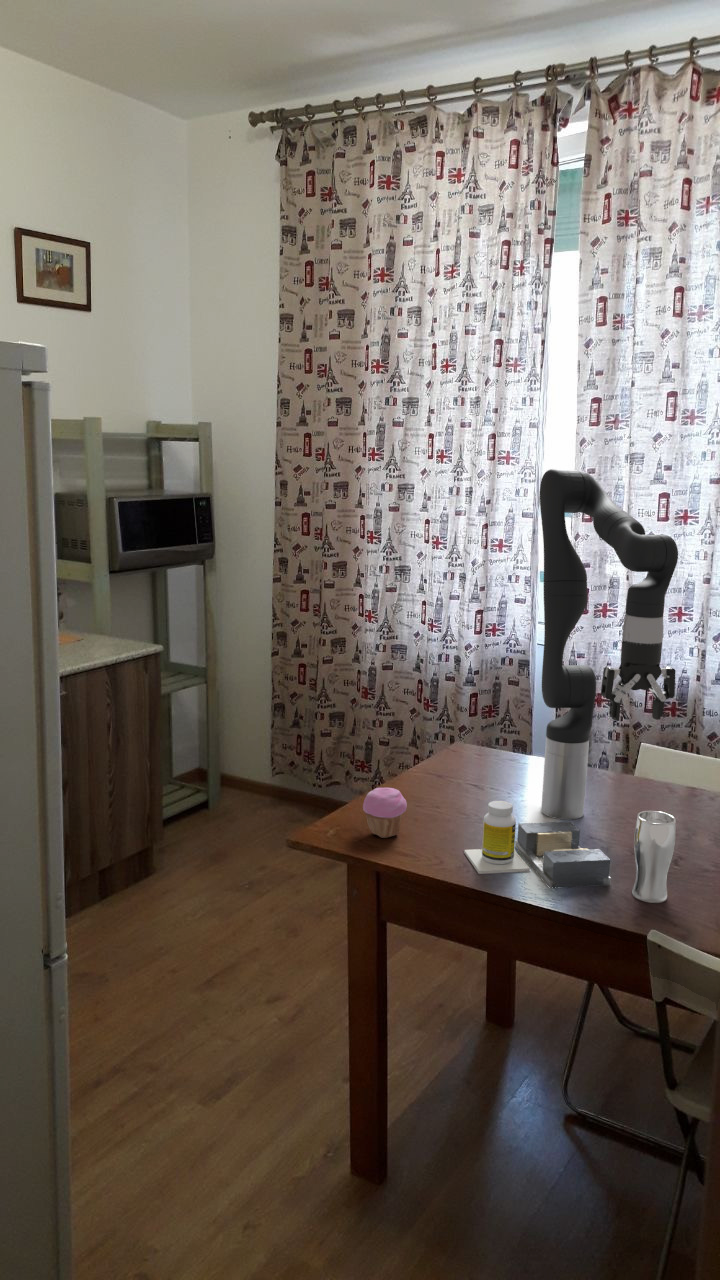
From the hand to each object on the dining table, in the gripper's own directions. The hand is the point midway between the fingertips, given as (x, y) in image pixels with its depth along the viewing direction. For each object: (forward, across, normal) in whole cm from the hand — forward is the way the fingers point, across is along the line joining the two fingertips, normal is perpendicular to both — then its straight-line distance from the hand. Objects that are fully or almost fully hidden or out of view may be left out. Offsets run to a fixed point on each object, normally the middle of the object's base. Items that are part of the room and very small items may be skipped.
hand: (635, 719), depth 196 cm
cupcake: (+27, +47, -12) cm, 56 cm away
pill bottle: (+27, +28, +4) cm, 39 cm away
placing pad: (+27, +28, +4) cm, 39 cm away
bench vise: (+27, +16, +6) cm, 32 cm away
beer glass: (+27, +4, +21) cm, 35 cm away
